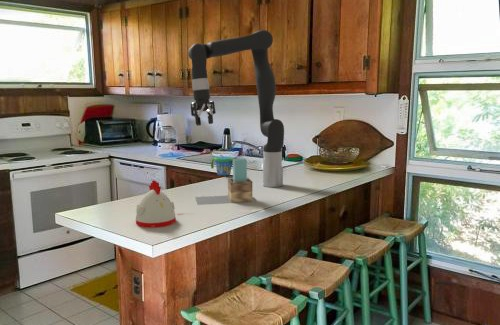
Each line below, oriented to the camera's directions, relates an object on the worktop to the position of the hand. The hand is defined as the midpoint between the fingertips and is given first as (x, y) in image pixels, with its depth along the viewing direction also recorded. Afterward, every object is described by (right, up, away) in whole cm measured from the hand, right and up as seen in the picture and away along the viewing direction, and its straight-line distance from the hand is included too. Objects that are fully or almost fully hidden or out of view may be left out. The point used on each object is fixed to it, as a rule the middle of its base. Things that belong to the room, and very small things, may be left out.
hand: (204, 124), depth 200 cm
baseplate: (+10, -34, -16) cm, 39 cm away
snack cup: (+6, -25, +48) cm, 54 cm away
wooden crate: (+17, -34, -15) cm, 41 cm away
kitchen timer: (-13, -39, -45) cm, 61 cm away
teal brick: (+17, -26, -16) cm, 35 cm away
